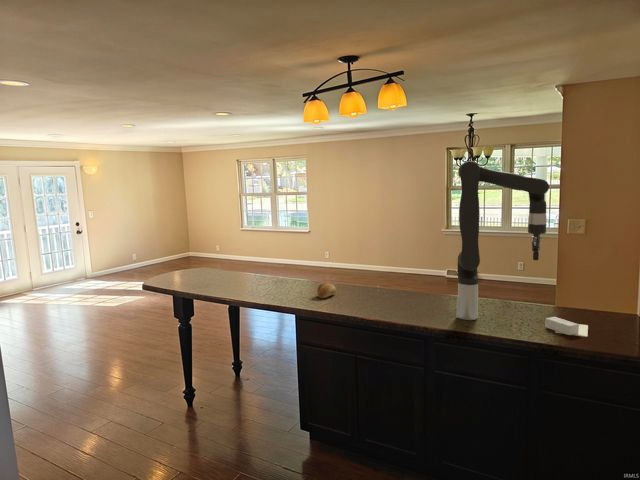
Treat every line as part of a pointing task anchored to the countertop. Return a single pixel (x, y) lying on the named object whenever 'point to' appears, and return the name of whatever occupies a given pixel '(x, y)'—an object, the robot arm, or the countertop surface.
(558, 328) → the skincare box
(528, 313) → the countertop surface
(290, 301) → the countertop surface
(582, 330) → the mat
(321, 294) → the bread roll
